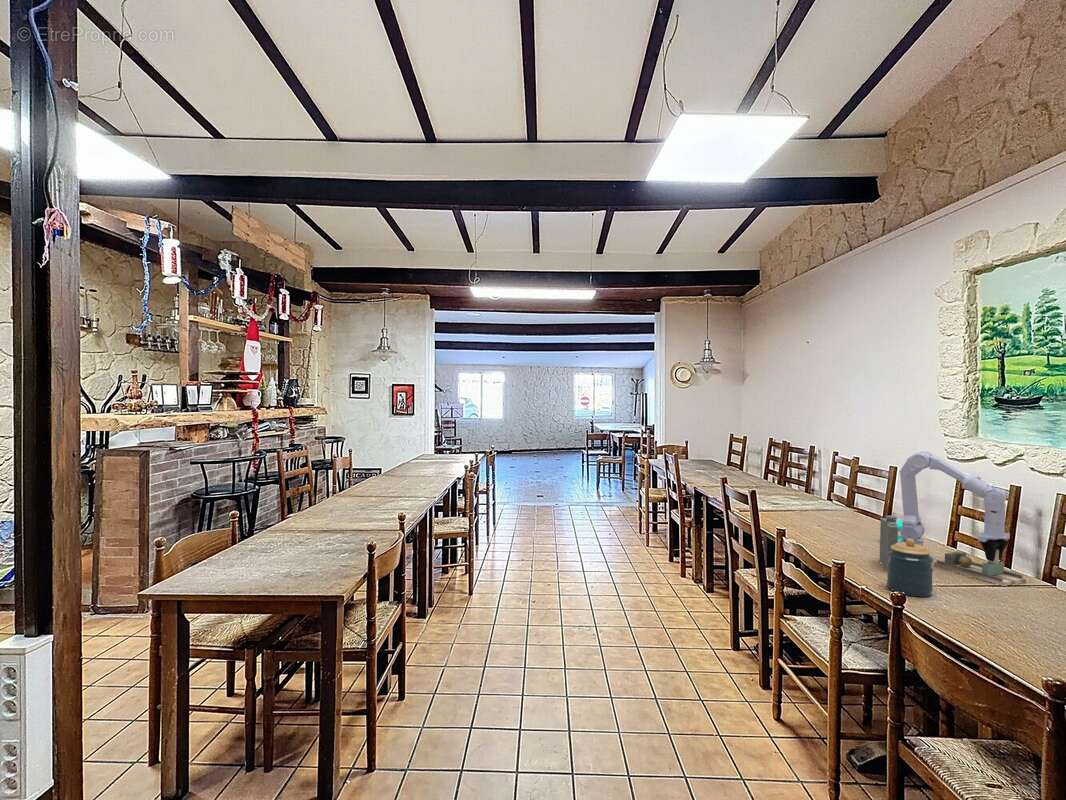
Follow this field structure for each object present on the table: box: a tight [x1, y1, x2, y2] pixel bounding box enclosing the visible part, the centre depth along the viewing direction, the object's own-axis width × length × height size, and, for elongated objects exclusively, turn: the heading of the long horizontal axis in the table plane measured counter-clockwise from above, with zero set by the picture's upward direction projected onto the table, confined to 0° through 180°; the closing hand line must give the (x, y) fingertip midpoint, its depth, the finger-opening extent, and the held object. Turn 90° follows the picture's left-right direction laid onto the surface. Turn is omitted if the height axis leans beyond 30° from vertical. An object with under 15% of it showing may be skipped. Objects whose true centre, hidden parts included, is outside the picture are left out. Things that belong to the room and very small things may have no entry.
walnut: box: [959, 555, 973, 567], centre depth 214 cm, size 4×4×4 cm
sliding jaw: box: [981, 549, 1005, 575], centre depth 205 cm, size 9×3×9 cm, turn 111°
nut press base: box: [933, 551, 1027, 587], centre depth 209 cm, size 12×24×6 cm, turn 21°
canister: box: [886, 539, 934, 598], centre depth 191 cm, size 13×13×18 cm
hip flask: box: [879, 515, 899, 573], centre depth 215 cm, size 16×4×20 cm, turn 159°
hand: (993, 559), depth 205 cm, fingers closed on sliding jaw, 3 cm apart
